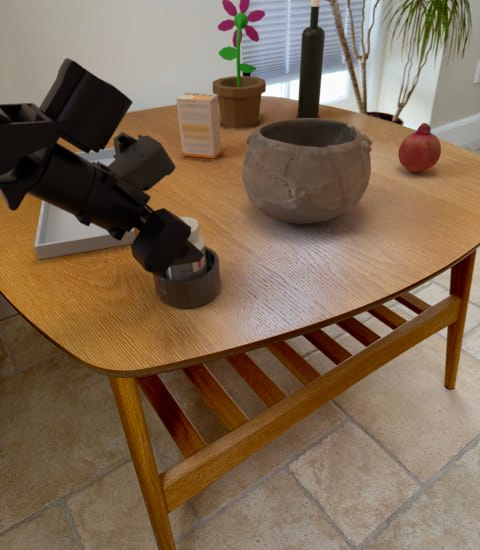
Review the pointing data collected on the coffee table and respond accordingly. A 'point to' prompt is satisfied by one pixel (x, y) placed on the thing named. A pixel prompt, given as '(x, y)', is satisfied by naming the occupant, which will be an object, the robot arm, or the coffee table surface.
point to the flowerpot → (239, 89)
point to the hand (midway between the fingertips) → (183, 241)
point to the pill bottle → (190, 269)
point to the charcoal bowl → (191, 286)
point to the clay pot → (306, 169)
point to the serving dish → (74, 225)
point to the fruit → (420, 150)
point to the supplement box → (199, 124)
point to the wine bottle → (311, 66)
